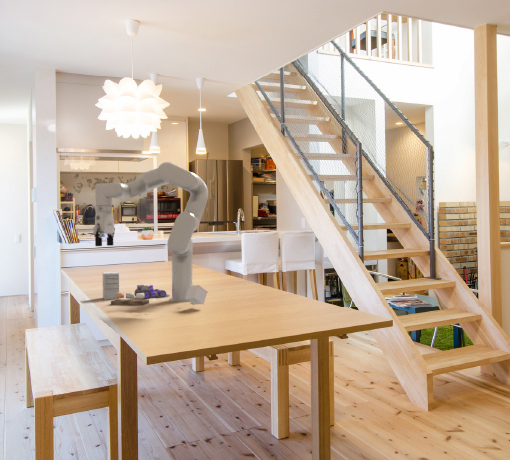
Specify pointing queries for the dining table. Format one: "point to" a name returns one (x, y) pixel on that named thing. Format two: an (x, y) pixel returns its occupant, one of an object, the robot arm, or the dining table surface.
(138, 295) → the cream button
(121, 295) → the terracotta button
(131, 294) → the sage button
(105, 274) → the supplement box
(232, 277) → the dining table surface
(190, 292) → the gray cube
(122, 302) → the button plate
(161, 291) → the toy race car
